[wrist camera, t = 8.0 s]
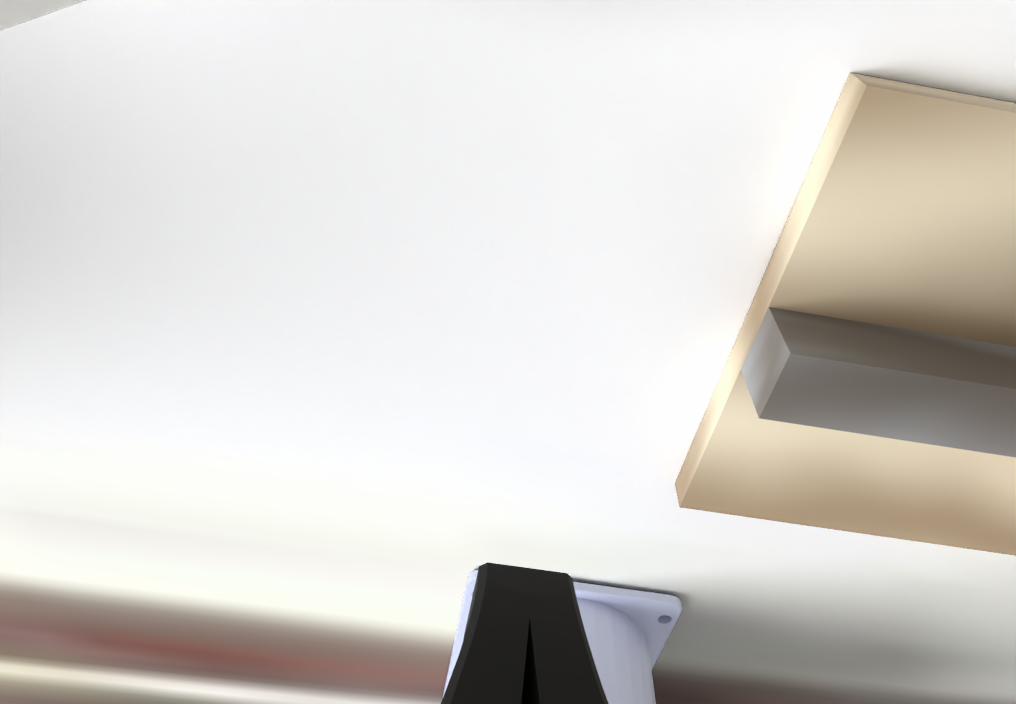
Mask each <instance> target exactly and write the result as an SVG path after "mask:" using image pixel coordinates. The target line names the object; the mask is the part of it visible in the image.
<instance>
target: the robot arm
mask: <svg viewBox="0 0 1016 704" xmlns="http://www.w3.org/2000/svg"><path fill="white" fill-rule="evenodd" d="M681 612H682V606H681V601H680V599H679V598H677V597H676V596H673V595H667V594H660V593H653V592H645V591H638V590H631V589H623V588H616V587H609V586H601V585H594V584H586V583H579V582H573V579H572V578H571V577H570V576H569V575H568V574H567V573H560V572H552V571H545V570H538V569H530V568H523V567H516V566H508V565H501V564H494V563H486V564H483V565H481V566H479V569H478V570H474V571H472V572H470V573H469V575H468V577H467V582H466V587H465V592H464V597H463V601H462V606H461V611H460V616H459V621H458V626H457V631H456V635H455V640H454V645H453V650H452V655H451V660H450V665H449V670H448V674H447V679H446V684H445V689H444V694H443V699H442V702H441V704H656V701H655V693H654V685H653V677H652V669H653V667H654V665H655V663H656V661H657V659H658V657H659V655H660V653H661V651H662V650H663V648H664V646H665V644H666V642H667V640H668V638H669V636H670V634H671V632H672V630H673V628H674V626H675V624H676V622H677V620H678V618H679V616H680V614H681Z"/></svg>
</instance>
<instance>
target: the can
mask: <svg viewBox="0 0 1016 704" xmlns="http://www.w3.org/2000/svg"><path fill="white" fill-rule="evenodd" d="M82 1H85V0H0V30H3V29H6V28H9V27H12V26H15V25H18V24H21V23H23V22H26V21H29V20H32V19H35V18H37V17H40V16H43V15H46V14H49V13H52V12H54V11H57V10H60V9H63V8H66V7H68V6H71V5H74V4H77V3H80V2H82Z"/></svg>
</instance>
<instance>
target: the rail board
mask: <svg viewBox="0 0 1016 704" xmlns="http://www.w3.org/2000/svg"><path fill="white" fill-rule="evenodd" d="M675 486H676V491H677V496H678V501H679V506H680V507H682V508H689V509H696V510H703V511H710V512H717V513H724V514H731V515H738V516H745V517H752V518H759V519H766V520H773V521H779V522H786V523H793V524H800V525H807V526H814V527H821V528H828V529H835V530H842V531H849V532H856V533H863V534H870V535H877V536H884V537H891V538H898V539H905V540H912V541H919V542H926V543H933V544H940V545H947V546H953V547H960V548H967V549H974V550H981V551H988V552H995V553H1002V554H1009V555H1016V103H1012V102H1007V101H1002V100H996V99H991V98H985V97H980V96H974V95H969V94H964V93H958V92H953V91H947V90H942V89H936V88H931V87H925V86H920V85H915V84H909V83H904V82H898V81H893V80H887V79H882V78H877V77H871V76H866V75H860V74H855V73H850V74H849V76H848V79H847V81H846V83H845V86H844V88H843V90H842V93H841V95H840V97H839V100H838V102H837V104H836V107H835V109H834V112H833V114H832V116H831V119H830V121H829V123H828V126H827V128H826V130H825V133H824V135H823V137H822V140H821V142H820V144H819V147H818V149H817V151H816V154H815V156H814V158H813V161H812V163H811V166H810V168H809V170H808V173H807V175H806V177H805V180H804V182H803V184H802V187H801V189H800V191H799V194H798V196H797V198H796V201H795V203H794V205H793V208H792V210H791V212H790V215H789V217H788V220H787V222H786V224H785V227H784V229H783V231H782V234H781V236H780V238H779V241H778V243H777V245H776V248H775V250H774V252H773V255H772V257H771V259H770V262H769V264H768V267H767V269H766V271H765V274H764V276H763V278H762V281H761V283H760V285H759V288H758V290H757V292H756V295H755V297H754V299H753V302H752V304H751V306H750V309H749V311H748V313H747V316H746V318H745V321H744V323H743V325H742V328H741V330H740V332H739V335H738V337H737V339H736V342H735V344H734V346H733V349H732V351H731V353H730V356H729V358H728V360H727V363H726V365H725V367H724V370H723V372H722V375H721V377H720V379H719V382H718V384H717V386H716V389H715V391H714V393H713V396H712V398H711V400H710V403H709V405H708V407H707V410H706V412H705V414H704V417H703V419H702V421H701V424H700V426H699V429H698V431H697V433H696V436H695V438H694V440H693V443H692V445H691V447H690V450H689V452H688V454H687V457H686V459H685V461H684V464H683V466H682V468H681V471H680V473H679V475H678V478H677V480H676V483H675Z"/></svg>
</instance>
